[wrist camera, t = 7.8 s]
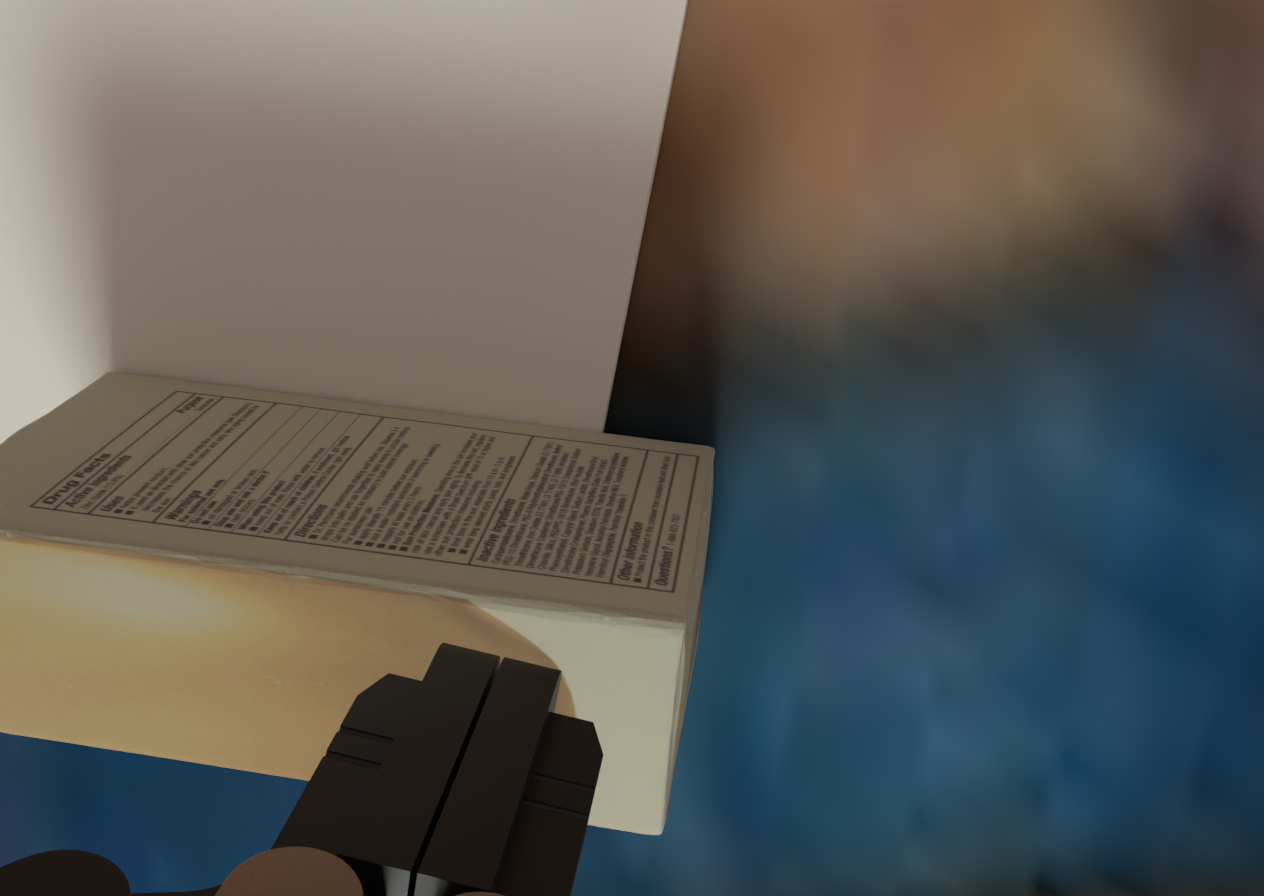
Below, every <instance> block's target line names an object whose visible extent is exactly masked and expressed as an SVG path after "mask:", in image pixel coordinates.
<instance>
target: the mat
mask: <svg viewBox="0 0 1264 896" xmlns="http://www.w3.org/2000/svg"><path fill="white" fill-rule="evenodd" d="M688 2H689V0H0V444H2V443H3V442H4V441H5V440H6V439H7V438H9V437H10V436H11V435H12V434H14V433H15V432H17V431H18V430H20V429H21V428H23V427H25V426H26V425H28V424H30V423H32V422H33V421H35V420H37V419H39V418H40V417H42V416H44V415H46V414H47V413H49V412H50V411H52V410H53V409H55V408H56V407H58V406H59V405H61V404H62V403H64V402H65V401H66V400H68V399H69V398H71V397H73V396H74V395H76V394H77V393H79V392H80V391H81V390H83V389H84V388H86V387H87V386H89V385H90V384H91V383H93V382H94V381H96V380H98V379H99V378H100V377H101V376H103V375H104V374H105V373H107V372H110V371H114V372H121V373H128V374H136V375H145V376H153V377H162V378H170V379H178V380H185V381H193V382H200V383H209V384H218V385H226V386H234V387H242V388H249V389H256V390H265V391H274V392H282V393H290V394H297V395H305V396H313V397H320V398H328V399H336V400H344V401H351V402H359V403H367V404H374V405H383V406H391V407H399V408H407V409H415V410H423V411H431V412H440V413H447V414H455V415H464V416H472V417H478V418H486V419H494V420H502V421H510V422H518V423H526V424H534V425H542V426H550V427H558V428H566V429H575V430H583V431H591V432H599V433H603V432H604V427H605V422H606V417H607V412H608V407H609V402H610V397H611V392H612V387H613V382H614V377H615V372H616V366H617V361H618V356H619V351H620V346H621V341H622V336H623V331H624V326H625V321H626V316H627V311H628V306H629V301H630V296H631V290H632V285H633V280H634V275H635V270H636V265H637V260H638V255H639V250H640V245H641V240H642V235H643V230H644V225H645V219H646V214H647V209H648V204H649V199H650V194H651V189H652V184H653V179H654V174H655V169H656V164H657V159H658V154H659V149H660V143H661V138H662V133H663V128H664V123H665V118H666V113H667V108H668V103H669V98H670V93H671V88H672V83H673V78H674V73H675V67H676V62H677V57H678V52H679V47H680V42H681V37H682V32H683V27H684V22H685V17H686V12H687V7H688Z"/></svg>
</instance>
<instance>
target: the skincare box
mask: <svg viewBox="0 0 1264 896" xmlns="http://www.w3.org/2000/svg"><path fill="white" fill-rule="evenodd" d="M714 455H715V449H714V448H713V447H710V446H704V445H696V444H688V443H680V442H671V441H663V440H655V439H647V438H639V437H631V436H624V435H616V434H608V433H599V432H591V431H583V430H575V429H566V428H558V427H550V426H542V425H534V424H526V423H518V422H510V421H502V420H494V419H486V418H478V417H472V416H464V415H455V414H447V413H440V412H431V411H423V410H415V409H407V408H399V407H391V406H383V405H374V404H367V403H359V402H351V401H344V400H336V399H328V398H320V397H313V396H305V395H297V394H290V393H282V392H274V391H265V390H256V389H249V388H242V387H234V386H226V385H218V384H209V383H200V382H193V381H185V380H178V379H170V378H162V377H153V376H145V375H136V374H128V373H121V372H114V371H110V372H107V373H105V374H104V375H103V376H101V377H100V378H99V379H98V380H96V381H94V382H93V383H91V384H90V385H89V386H87V387H86V388H84V389H83V390H81V391H80V392H79V393H77V394H76V395H74V396H73V397H71V398H69V399H68V400H66V401H65V402H64V403H62V404H61V405H59V406H58V407H56V408H55V409H53V410H52V411H50V412H49V413H47V414H46V415H44V416H42V417H40V418H39V419H37V420H35V421H33V422H32V423H30V424H28V425H26V426H25V427H23V428H21V429H20V430H18V431H17V432H15V433H14V434H12V435H11V436H10V437H9V438H7V439H6V440H5V441H4V442H3V443H2V444H0V732H3V733H9V734H15V735H21V736H28V737H34V738H41V739H47V740H54V741H60V742H67V743H73V744H80V745H86V746H92V747H98V748H104V749H111V750H117V751H124V752H131V753H137V754H144V755H150V756H156V757H162V758H169V759H175V760H182V761H188V762H194V763H201V764H207V765H213V766H219V767H225V768H232V769H238V770H244V771H250V772H257V773H263V774H269V775H275V776H282V777H288V778H294V779H301V780H308V781H310V779H311V777H312V775H313V773H314V772H315V770H316V768H317V766H318V765H319V763H320V761H321V759H322V757H323V756H324V757H325V755H326V751H327V748H328V747H329V745H330V743H331V741H332V740H333V738H334V736H335V734H336V732H337V731H338V732H339V729H340V725H341V723H342V722H343V720H344V718H345V716H346V715H347V713H348V711H349V709H350V707H351V706H352V704H353V702H354V700H355V698H356V697H357V695H358V694H360V693H361V692H363V691H364V690H366V689H367V688H368V687H370V686H371V685H373V684H374V683H375V682H377V681H378V680H380V679H381V678H382V677H384V676H385V675H387V674H388V673H391V674H395V675H399V676H403V677H407V678H411V679H416V680H420V681H422V680H423V678H424V676H425V674H426V672H427V670H428V668H429V666H430V664H431V662H432V660H433V658H434V656H435V654H436V652H437V650H438V648H439V646H440V645H441V643H448V644H452V645H456V646H460V647H464V648H469V649H473V650H477V651H481V652H485V653H489V654H494V655H498V656H500V659H501V661H500V664H501V662H502V660H503V658H504V657H507V658H511V659H515V660H520V661H524V662H528V663H532V664H536V665H540V666H545V667H549V668H553V669H557V670H561V671H562V675H561V681H560V686H559V691H558V696H557V701H556V706H555V711H554V713H557V714H562V715H566V716H570V717H574V718H578V719H582V720H586V721H591V722H593V723H594V726H595V729H596V733H597V736H598V739H599V742H600V745H601V749H602V752H603V759H602V763H601V768H600V772H599V776H598V781H597V785H596V789H595V794H594V798H593V803H592V807H591V811H590V816H589V820H588V824H587V825H592V826H598V827H604V828H610V829H617V830H622V831H628V832H634V833H640V834H647V835H660V834H661V833H662V831H663V828H664V825H665V821H666V818H667V813H668V809H669V797H670V790H671V784H672V778H673V772H674V767H675V761H676V756H677V751H678V745H679V740H680V735H681V729H682V724H683V718H684V713H685V707H686V702H687V697H688V692H689V687H690V681H691V676H692V670H693V665H694V659H695V653H696V648H697V642H698V633H699V622H700V611H701V601H702V592H703V582H704V573H705V564H706V554H707V545H708V536H709V526H710V517H711V507H712V497H713V479H714V478H713V460H714Z"/></svg>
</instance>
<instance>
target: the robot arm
mask: <svg viewBox="0 0 1264 896" xmlns="http://www.w3.org/2000/svg"><path fill="white" fill-rule="evenodd" d="M500 661H501V659H500V656H498V655H494V654H489V653H485V652H481V651H477V650H473V649H469V648H464V647H460V646H456V645H452V644H448V643H441V645H440V646H439V648H438V650H437V652H436V654H435V656H434V658H433V660H432V662H431V664H430V666H429V668H428V670H427V672H426V674H425V676H424V678H423V680H422V681H420V680H416V679H411V678H407V677H403V676H399V675H395V674H391V673H388V674H387V675H385V676H384V677H382V678H381V679H380V680H378V681H377V682H375V683H374V684H373V685H371V686H370V687H368V688H367V689H366V690H364V691H363V692H361V693H360V694H358V695H357V697H356V698H355V700H354V702H353V704H352V706H351V707H350V709H349V711H348V713H347V715H346V716H345V718H344V720H343V722H342V723H341V725H340V729H339V732H338V731H337V732H336V734H335V736H334V738H333V740H332V741H331V743H330V745H329V747H328V748H327V751H326V755H325V757H324V756H323V757H322V759H321V761H320V763H319V765H318V766H317V768H316V770H315V772H314V773H313V775H312V777H311V779H310V781H309V782H308V784H307V786H306V788H305V790H304V791H303V793H302V795H301V797H300V799H299V800H298V802H297V804H296V806H295V807H294V809H293V811H292V813H291V815H290V816H289V818H288V820H287V822H286V824H285V825H284V827H283V829H282V831H281V832H280V834H279V836H278V838H277V840H276V841H275V843H274V845H273V846H272V848H271V849H270V850H269V851H265V852H262V853H260V854H258V855H256V856H253V857H251V858H250V859H248V860H246V861H245V862H243V863H242V864H241V865H239V866H238V867H237V868H236V869H235V870H233V872H232V873H231V874H230V875H229V876H228V877H227V879H226V880H225V881H224V883H223V884H222V885H219V886H216V887H212V888H208V889H203V890H198V891H189V892H168V893H135V894H131V891H130V887H129V883H128V881H127V879H126V877H125V875H124V873H123V872H122V871H121V870H120V869H119V867H118V866H116V865H115V864H114V863H112V862H111V861H110V860H108V859H106V858H104V857H102V856H100V855H97V854H93V853H90V852H85V851H79V850H56V851H48V852H43V853H38V854H34V855H31V856H28V857H26V858H23V859H20V860H17V861H15V862H13V863H10V864H8V865H5V866H3V867H0V896H571V893H572V888H573V884H574V880H575V876H576V871H577V867H578V863H579V859H580V855H581V850H582V846H583V842H584V837H585V833H586V829H587V824H588V820H589V816H590V811H591V807H592V803H593V798H594V794H595V789H596V785H597V781H598V776H599V772H600V768H601V763H602V759H603V752H602V749H601V745H600V742H599V739H598V736H597V733H596V729H595V726H594V723H593V722H591V721H586V720H582V719H578V718H574V717H570V716H566V715H562V714H557V713H554V711H555V706H556V701H557V696H558V691H559V686H560V681H561V675H562V671H561V670H557V669H553V668H549V667H545V666H540V665H536V664H532V663H528V662H524V661H520V660H515V659H511V658H507V657H504V658H503V660H502V662H501V664H500Z"/></svg>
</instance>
